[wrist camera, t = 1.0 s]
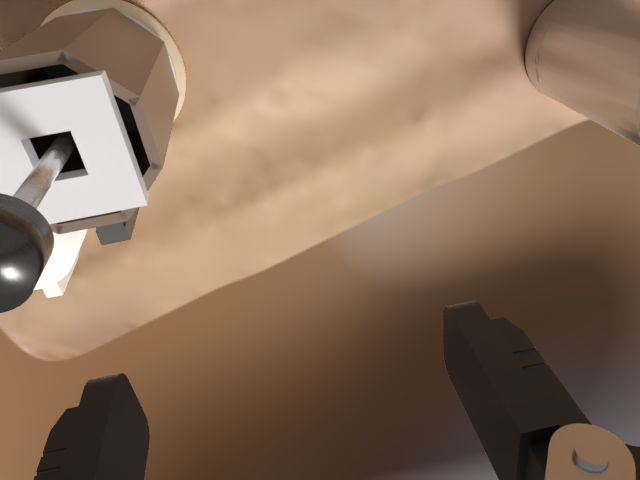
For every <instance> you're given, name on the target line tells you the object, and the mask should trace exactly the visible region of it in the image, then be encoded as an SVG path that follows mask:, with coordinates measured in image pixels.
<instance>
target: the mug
mask: <svg viewBox="0 0 640 480" xmlns="http://www.w3.org/2000/svg"><path fill="white" fill-rule="evenodd" d="M87 230H88V229H84V230H79V231H74V232H69V233H64V234H57V233H55V232H53V235H54V248H53V252H52V254H51V256H50V258H49V260H48V262H47V264H46V266H45V268H44V270H43V272H42V274H41V276H40V278H39V280H38V282H37V284H36V286H35V288H34V290H38V289H43V291H44V293H45V295H46V297H47V298H50V297H55V296H60V295H63V293H64V291H65V289H66V286H67V284H68V281H69V279H70V277H71V274H72V272H73V269H74V267H75V265H76V262H77V260H78V257H79V255H78V252H79V249H80V247H81V244H82V242H83V240H84V237H85V235H86V233H87Z"/></svg>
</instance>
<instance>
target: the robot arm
mask: <svg viewBox="0 0 640 480" xmlns="http://www.w3.org/2000/svg"><path fill="white" fill-rule="evenodd" d="M525 65H526V69H527V73H528V76H529V78H530V80H531V82H532V84H533V85H534V86H535V87H536V88H537V89H538V90H539V91H540V92H542V93H543V94H545V95H547V96H549V97H551V98H552V99H554V100H556V101H558V102H560V103H562V104H563V105H565V106H567V107H569V108H570V109H572V110H574V111H576V112H578V113H580V114H582V115H583V116H585V117H587V118H589V119H591V120H593V121H595V122H596V123H598V124H600V125H602V126H604V127H606V128H608V129H610V130H611V131H613V132H615V133H617V134H619V135H621V136H622V137H624V138H626V139H628V140H630V141H632V142H634V143H636V144H637V145H639V146H640V0H554V1H553V2H552V3H551V4H550V5H549V6H547V7H546V9H545V10H544V11H543V13H542V14H541V15H540V16H539V18H538V19H537V21H536V23H535V25H534V26H533V28H532V30H531V33H530V36H529V39H528V41H527V47H526V52H525ZM443 355H444V362H445V366H446V370H447V373H448V376H449V378H450V381H451V383H452V385H453V387H454V389H455V391H456V393H457V395H458V397H459V399H460V401H461V403H462V405H463V407H464V409H465V411H466V413H467V415H468V417H469V420H470V422H471V423H472V426H473V428H474V430H475V432H476V434H477V436H478V438H479V440H480V442H481V444H482V446H483V448H484V450H485V452H486V454H487V456H488V458H489V460H490V462H491V464H492V466H493V468H494V470H495V472H496V475H497V477H498V479H499V480H640V447H636V446H631V445H627V444H624V443H623V442H622V441H621V440H620V439H619V438H617V437H616V436H615V435H613V434H612V433H610V432H608V431H607V430H604V429H602V428H600V427H597V426H594V425H592V424H591V423H590V422H589V421H588V419H587V418H586V417H585V415H584V414H583V413H582V411H581V410H580V409H579V407H578V406H577V404H576V403H575V402H574V400H573V399H572V397H571V396H570V395H569V393H568V392H567V391H566V389H565V388H564V386H563V385H562V384H561V382H560V381H559V380H558V378H557V377H556V375H555V374H554V373H553V371H552V370H551V368H550V367H549V366H547V365H546V362H545V360H544V359H543V358H542V356H541V355H540V353H539V352H538V351H536V349H535V346H534V345H533V344H532V342H531V341H530V340H529V338H528V337H527V335H526V334H525V333H524V331H523V330H521V329H520V328H518V327H517V326H515V325H514V324H512V323H511V322H509V321H508V320H507V319H505V318H499V319H494V320H490V319H489V317H488V316H487V314H486V313H485V311H484V310H483V308H482V307H481V305H480V304H479V303H478V302H477V301H470V302H466V303H461V304H456V305H452V306H447V307H444V309H443ZM149 439H150V435H149V426H148V421H147V418H146V415H145V413H144V411H143V409H142V407H141V405H140V403H139V401H138V398H137V396H136V394H135V392H134V390H133V388H132V386H131V384H130V382H129V380H128V378H127V376H126V375H125V374H123V373H121V374H117V375H112V376H107V377H102V378H97V379H92V380H89V381H88V382H87V383H86V385H85V387H84V390H83V394H82V397H81V400H80V404H79V406H78V407H74V408H69V409H66V411H65V412H64V413H63V415H62V416H61V417H60V419H59V420H58V421H57V423H56V424H55V425H54V426H53V428H52V429H51V431H50V433H49V436H48V439H47V442H46V445H45V448H44V451H43V457H41V460H40V463H39V466H38V468H37V476H35V477H34V480H144V477H145V470H146V462H147V457H148V450H149Z"/></svg>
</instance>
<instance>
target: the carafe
mask: <svg viewBox="0 0 640 480" xmlns="http://www.w3.org/2000/svg"><path fill="white" fill-rule="evenodd" d="M185 92H186V71H185V66H184V62H183V59H182V56H181V53H180V51H179V49H178V46H177V44H176V43H175V41H174V40H173V38H172V36H171V35H170V34H169V32H168V31H167V30H166V29H165V27H164V26H163V25H162V24H161V23H160V22H159V21H158V20H157V19H155V18H154V17H153V16H152V15H150V14H149V13H148V12H146V11H144V10H143V9H141V8H140V7H138V6H136V5H133V4H131V3H129V2H126V1H123V0H73V1H70V2H68V3H66V4H64V5H62V6H60V7H59V8H57V9H55V10H54V11H53V12H52V13H51V14H50V15H48V16H47V17H46V19H45V20H44V21H43V22H42V23H41V25H40V27H39V28H37V29H36V30H34V31H32V32H31V33H29V34H27V35H26V36H24V37H22V38H21V39H19V40H17V41H16V42H14V43H12V44H11V45H9V46H7V47H6V48H4V49H2V50H1V51H0V193H1V194H6V195H10V196H13V195H14V194H15V193H16V191H17V190H18V189H19V187H20V186H21V184H22V183H23V182H24V180H25V179H26V178H27V176H28V175H29V174H30V172H31V171H32V170H33V168H34V167H35V166H36V164H37V163H38V162H39V160H40V159H41V158H42V156H43V155H44V154H45V152H46V151H47V150H48V148H49V147H50V146H51V144H52V143H53V142H54V140H55V139H56V137H57V136H58V135H59V133H61V132H66V131H71V134H72V136H73V138H74V141H75V143H76V147H75V149H74V150H73V152H72V153H71V155H70V157H69V158H68V160H67V161H66V163H65V164H64V166H63V168H62V169H61V171H60V172H59V174H58V176H57V177H56V179H55V180H54V182H53V183H52V185H51V187H50V188H49V190H48V191H47V193H46V195H45V196H44V198H43V199H42V201H41V203H40V204H39V206H38V207H37V210H38V211H39V212H40V213H41V214H42V215H43V216H44V217H45V218H46V220H47V221H48V223H49V225H50V226H51V229H52V231H53V232H55V233H57V234H64V233H69V232H74V231H79V230H84V229H90V228H95V227H96V229H97V230H96V233H97V236H98V238H99V240H100V243H101V245H105V244H110V243H115V242H120V241H125V240H130V239H131V236H132V232H133V228H134V225H135V221H136V218H137V214H138V210H139V207H142V206H147V205H148V201H149V194H148V190H149V188H150V187H151V185H152V184H153V182H154V181H155V179H156V177H157V176H158V174H159V173H160V171H161V170H162V168H163V165H164V160H165V156H166V152H167V147H168V143H169V138H170V134H171V129H172V125H173V122H174V120H175V119H176V118H177V116H178V114H179V112H180V110H181V107H182V105H183V102H184V97H185Z"/></svg>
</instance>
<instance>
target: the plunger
mask: <svg viewBox="0 0 640 480" xmlns="http://www.w3.org/2000/svg"><path fill="white" fill-rule="evenodd" d="M75 147H76V143H75V141H74V138H73V136H72V134H71V131H66V132H61V133H59V135H58V136H57V137H56V139H55V140H54V142H53V143H52V144H51V146H50V147H49V148H48V150H47V151H46V152H45V154H44V155H43V156H42V158H41V159H40V160H39V162H38V163H37V164H36V166H35V167H34V168H33V170H32V171H31V172H30V174H29V175H28V176H27V178H26V179H25V180H24V182H23V183H22V184H21V186H20V187H19V189H18V190H17V191H16V193H15V194H14V195H13V196H10V195H6V194H1V193H0V313H2V312H6V311H9V310H12V309H14V308H16V307H18V306H20V305H21V304H23V303H24V302H25V301H26V300H27V299H28V298H29V297H30V295H31V294H32V292H33V290H34V288H35V286H36V284H37V282H38V280H39V278H40V276H41V274H42V272H43V270H44V268H45V266H46V264H47V262H48V260H49V258H50V256H51V254H52V252H53V248H54V235H53V231H52V229H51V226H50V225H49V223H48V221H47V220H46V218H45V217H44V216H43V215H42V214H41V213H40V212H39V211H38V210H37V207H38V206H39V204H40V203H41V201H42V199H43V198H44V196H45V195H46V193H47V191H48V190H49V188H50V187H51V185H52V183H53V182H54V180H55V179H56V177H57V176H58V174H59V172H60V171H61V169H62V168H63V166H64V164H65V163H66V161H67V160H68V158H69V157H70V155H71V153H72V152H73V150H74V149H75Z"/></svg>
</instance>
